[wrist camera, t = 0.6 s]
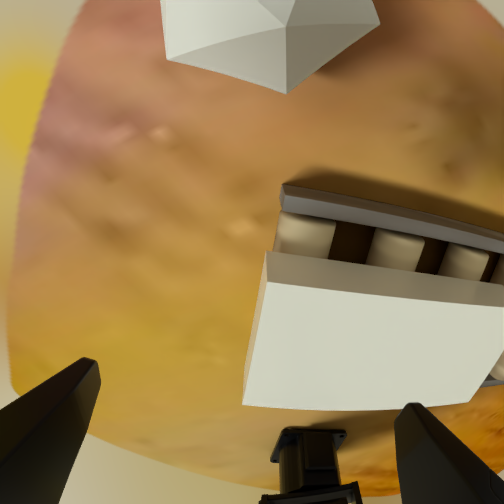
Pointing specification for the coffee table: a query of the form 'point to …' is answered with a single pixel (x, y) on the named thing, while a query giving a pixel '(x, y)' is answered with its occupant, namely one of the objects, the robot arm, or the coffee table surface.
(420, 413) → the robot arm
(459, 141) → the coffee table surface
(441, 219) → the roller bed
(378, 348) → the slab
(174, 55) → the die
